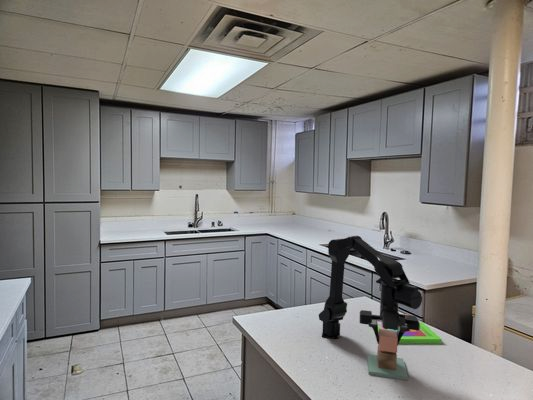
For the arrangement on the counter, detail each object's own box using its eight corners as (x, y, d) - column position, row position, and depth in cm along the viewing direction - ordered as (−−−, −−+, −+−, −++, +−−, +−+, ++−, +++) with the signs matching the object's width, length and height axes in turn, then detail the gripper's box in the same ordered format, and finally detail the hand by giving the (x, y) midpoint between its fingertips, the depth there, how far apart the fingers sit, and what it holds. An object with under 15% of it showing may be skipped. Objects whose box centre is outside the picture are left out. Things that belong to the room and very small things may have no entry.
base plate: (368, 374, 117) (368, 371, 117) (367, 356, 128) (367, 353, 128) (407, 380, 114) (407, 377, 114) (402, 361, 125) (403, 358, 125)
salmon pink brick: (379, 350, 119) (379, 335, 118) (378, 342, 124) (378, 328, 124) (396, 352, 117) (397, 337, 117) (395, 345, 123) (395, 330, 122)
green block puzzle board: (441, 344, 140) (412, 319, 165) (441, 339, 140) (413, 314, 165) (384, 344, 139) (364, 318, 164) (384, 339, 139) (364, 314, 164)
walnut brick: (378, 367, 119) (378, 353, 119) (377, 359, 124) (377, 345, 124) (396, 370, 118) (396, 355, 117) (394, 361, 123) (394, 347, 123)
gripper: (360, 304, 114) (358, 351, 115) (423, 311, 109) (421, 360, 111) (360, 293, 125) (358, 337, 126) (417, 299, 120) (415, 344, 121)
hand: (387, 344), depth 121 cm, fingers closed on salmon pink brick, 5 cm apart
